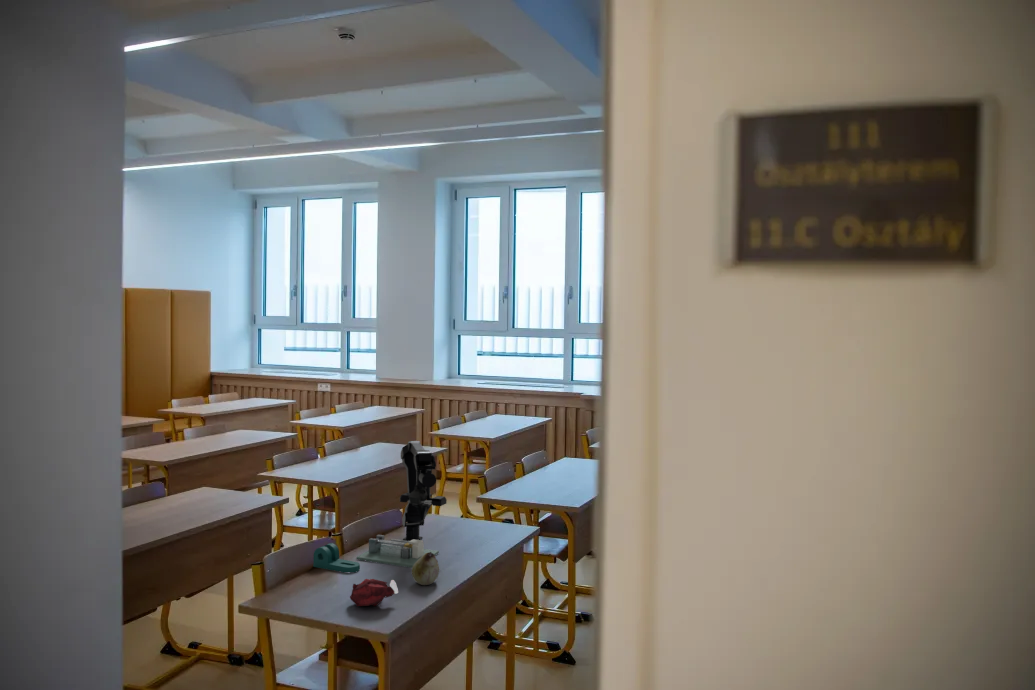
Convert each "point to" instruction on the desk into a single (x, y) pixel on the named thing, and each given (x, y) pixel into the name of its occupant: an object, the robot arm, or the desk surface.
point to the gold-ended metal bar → (393, 543)
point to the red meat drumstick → (372, 592)
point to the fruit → (426, 569)
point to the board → (392, 558)
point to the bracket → (333, 559)
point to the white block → (417, 548)
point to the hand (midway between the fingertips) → (422, 520)
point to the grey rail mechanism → (389, 548)
